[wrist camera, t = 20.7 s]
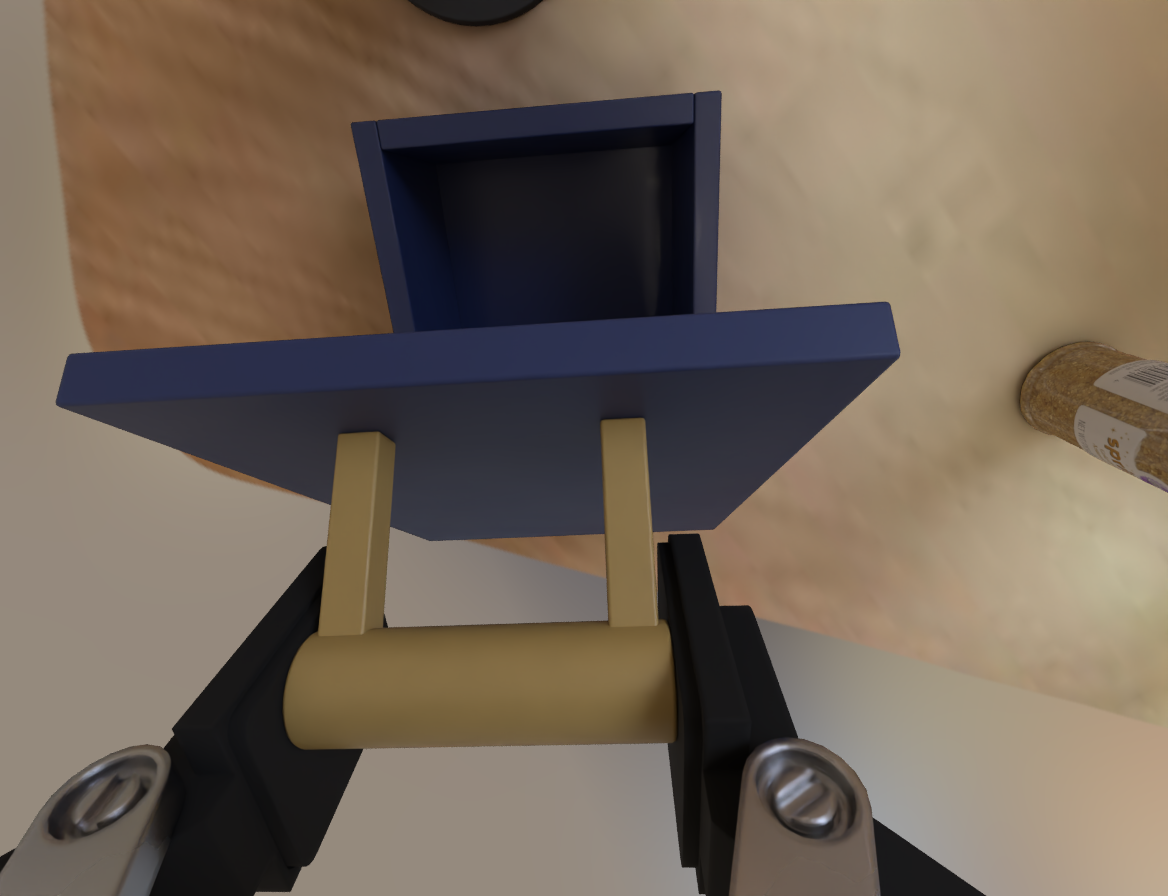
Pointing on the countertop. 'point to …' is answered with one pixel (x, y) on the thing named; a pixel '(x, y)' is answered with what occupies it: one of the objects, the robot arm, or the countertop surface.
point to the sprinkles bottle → (1103, 406)
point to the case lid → (499, 490)
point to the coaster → (475, 10)
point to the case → (546, 211)
